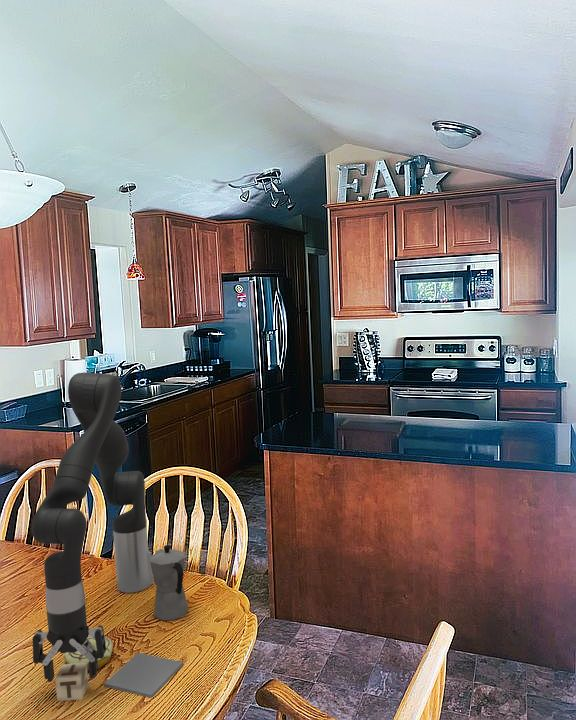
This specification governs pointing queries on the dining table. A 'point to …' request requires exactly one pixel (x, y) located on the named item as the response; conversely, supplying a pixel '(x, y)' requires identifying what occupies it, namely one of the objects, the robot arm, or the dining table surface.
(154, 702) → the dining table surface
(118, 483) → the robot arm
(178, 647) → the dining table surface
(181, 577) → the coffeepot
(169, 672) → the slate coaster
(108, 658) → the decorated donut
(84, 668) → the letter block
